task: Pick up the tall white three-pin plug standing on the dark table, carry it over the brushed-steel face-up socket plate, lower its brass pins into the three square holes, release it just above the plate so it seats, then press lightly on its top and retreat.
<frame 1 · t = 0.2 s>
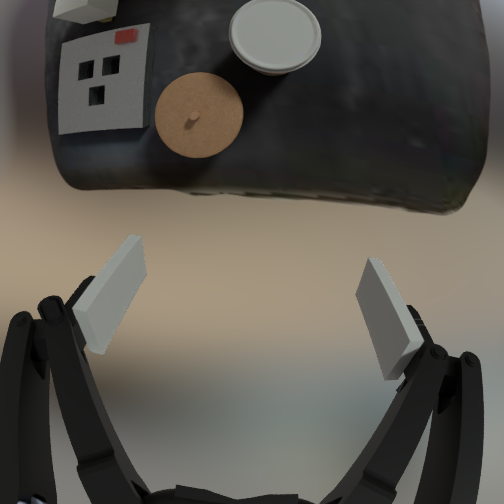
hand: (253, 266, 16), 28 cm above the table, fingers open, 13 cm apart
socket: (107, 80, 33), on the table
lidded jar: (209, 112, 37), on the table
plug: (110, 5, 26), on the table
coffee cup: (272, 51, 32), on the table
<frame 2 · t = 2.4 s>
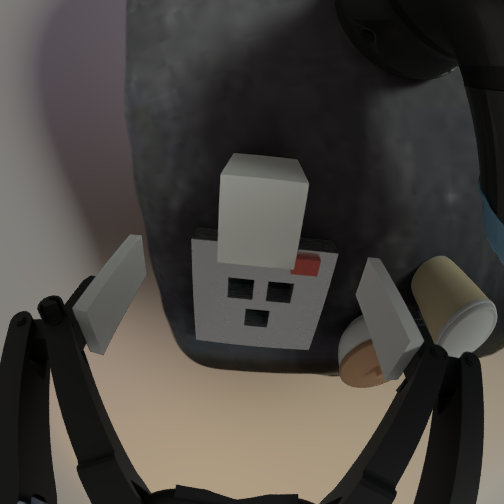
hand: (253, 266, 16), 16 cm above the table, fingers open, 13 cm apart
socket: (259, 288, 37), on the table
lidded jar: (365, 326, 40), on the table
plug: (262, 182, 30), on the table
coffee cup: (432, 277, 35), on the table
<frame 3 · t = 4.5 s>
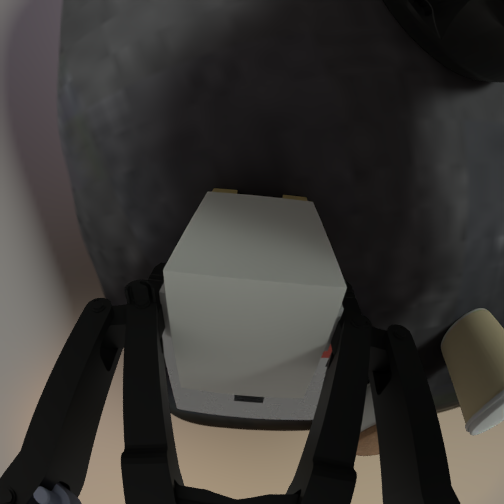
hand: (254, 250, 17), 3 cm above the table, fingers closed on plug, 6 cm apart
socket: (253, 358, 27), on the table
lidded jar: (381, 387, 30), on the table
plug: (256, 229, 20), on the table, touching gripper
coffee cup: (465, 331, 25), on the table
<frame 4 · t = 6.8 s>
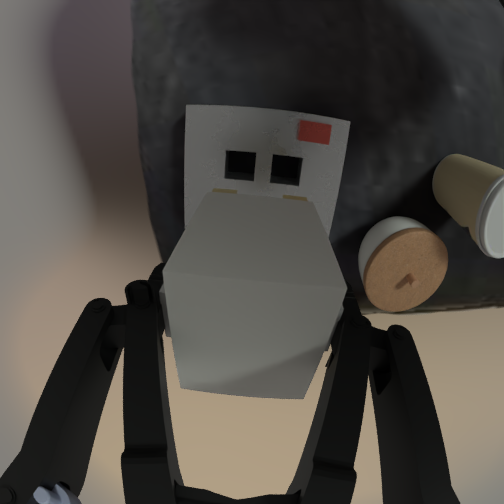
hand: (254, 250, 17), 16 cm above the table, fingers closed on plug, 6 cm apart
socket: (261, 178, 31), on the table
lidded jar: (386, 240, 34), on the table
plug: (256, 230, 20), point 13 cm above the table, touching gripper
coffee cup: (453, 181, 29), on the table
when the fingers open (4 cm above the table, at t = 9.1 s): plug drops 1 cm, resting on socket.
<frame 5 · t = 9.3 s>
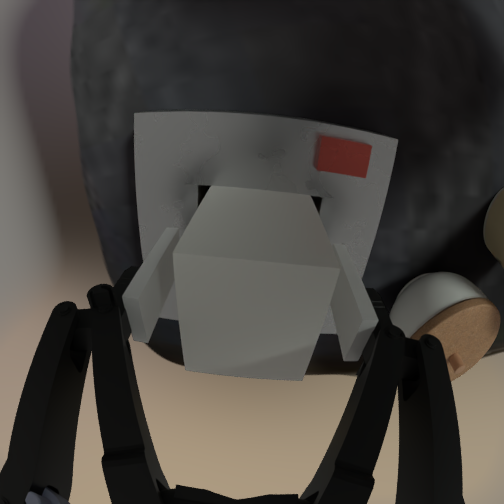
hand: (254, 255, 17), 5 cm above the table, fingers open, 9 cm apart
socket: (256, 222, 21), on the table
lidded jar: (420, 296, 24), on the table
plug: (257, 223, 21), resting on socket
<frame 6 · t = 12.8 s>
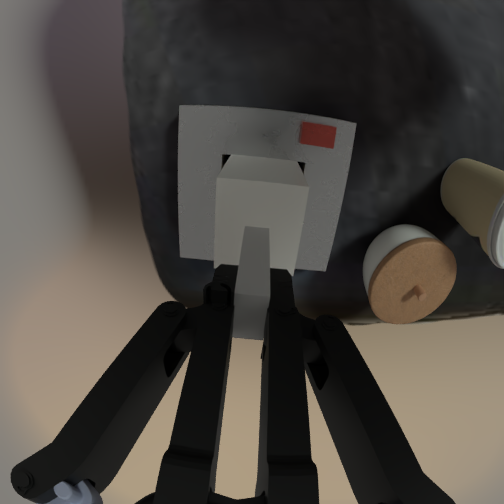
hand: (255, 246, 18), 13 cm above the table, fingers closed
socket: (260, 184, 29), on the table
lidded jar: (391, 249, 32), on the table
plug: (261, 184, 29), resting on socket
coffee cup: (461, 186, 27), on the table
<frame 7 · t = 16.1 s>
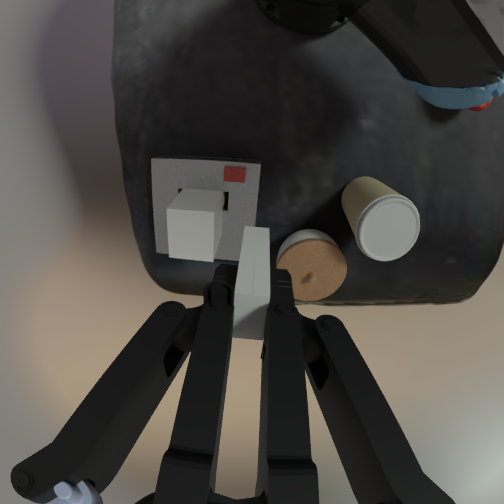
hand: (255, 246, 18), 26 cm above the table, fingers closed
socket: (206, 204, 45), on the table
lidded jar: (305, 247, 48), on the table
plug: (206, 205, 45), resting on socket
coffee cup: (363, 198, 43), on the table
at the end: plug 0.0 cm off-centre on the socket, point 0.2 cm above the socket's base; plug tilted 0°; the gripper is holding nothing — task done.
